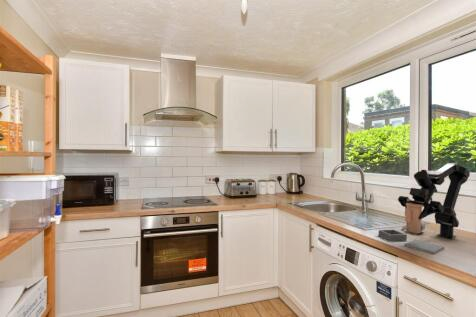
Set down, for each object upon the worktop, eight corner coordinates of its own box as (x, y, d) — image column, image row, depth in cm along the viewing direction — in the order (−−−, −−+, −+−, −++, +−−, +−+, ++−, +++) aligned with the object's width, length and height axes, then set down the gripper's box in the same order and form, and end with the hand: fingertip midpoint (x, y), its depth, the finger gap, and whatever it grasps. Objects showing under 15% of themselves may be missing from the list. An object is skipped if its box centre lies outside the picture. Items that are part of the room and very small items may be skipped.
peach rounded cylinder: (410, 228, 131) (411, 202, 131) (424, 231, 125) (425, 204, 125) (400, 230, 127) (400, 203, 127) (414, 234, 121) (415, 206, 121)
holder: (393, 235, 142) (394, 229, 141) (406, 240, 133) (406, 234, 133) (378, 235, 140) (378, 229, 140) (390, 241, 131) (390, 235, 131)
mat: (414, 241, 131) (415, 239, 131) (444, 248, 122) (444, 246, 122) (404, 246, 125) (404, 243, 124) (434, 254, 115) (434, 251, 115)
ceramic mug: (425, 232, 148) (426, 218, 148) (422, 235, 142) (423, 220, 142) (404, 228, 156) (404, 215, 156) (400, 231, 150) (400, 217, 150)
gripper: (400, 180, 136) (386, 203, 131) (441, 184, 120) (427, 210, 115) (408, 194, 140) (395, 217, 135) (450, 200, 123) (436, 226, 119)
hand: (412, 217), depth 126 cm, fingers closed on peach rounded cylinder, 6 cm apart
